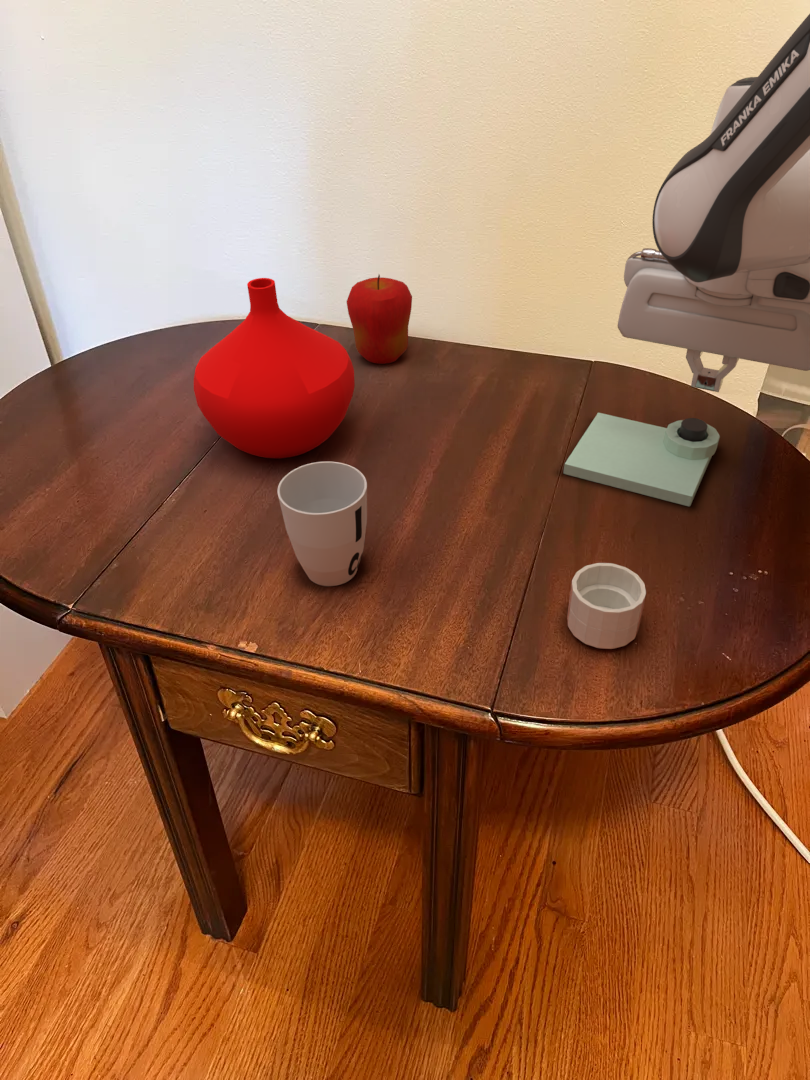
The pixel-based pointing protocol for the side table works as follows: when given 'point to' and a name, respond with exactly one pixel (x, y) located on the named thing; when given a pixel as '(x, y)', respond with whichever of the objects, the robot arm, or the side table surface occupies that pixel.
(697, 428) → the tare button
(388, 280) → the apple
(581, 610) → the bowl
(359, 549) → the cup
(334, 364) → the vase
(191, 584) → the side table surface
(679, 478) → the scale
